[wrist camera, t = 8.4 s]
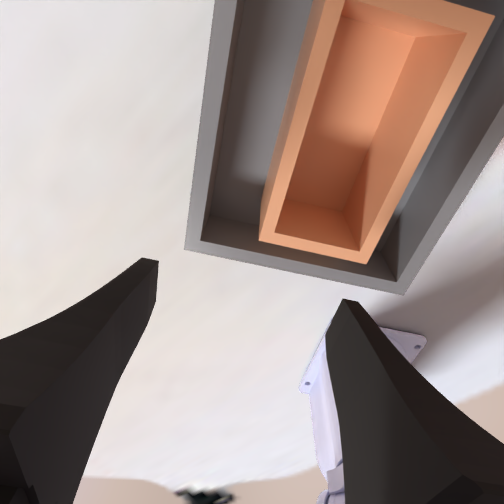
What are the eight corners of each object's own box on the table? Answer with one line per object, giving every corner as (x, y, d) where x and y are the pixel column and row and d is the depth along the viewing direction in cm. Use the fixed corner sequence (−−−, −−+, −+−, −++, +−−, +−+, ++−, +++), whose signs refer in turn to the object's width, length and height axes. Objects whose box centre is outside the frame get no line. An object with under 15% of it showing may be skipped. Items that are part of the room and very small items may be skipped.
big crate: (383, 257, 22) (403, 295, 19) (197, 217, 21) (184, 249, 18) (530, -17, 14) (611, -37, 11) (243, -103, 13) (233, -155, 10)
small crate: (345, 218, 20) (366, 264, 16) (260, 198, 19) (258, 240, 15) (429, 25, 14) (495, 15, 10) (315, -8, 14) (334, -33, 10)
